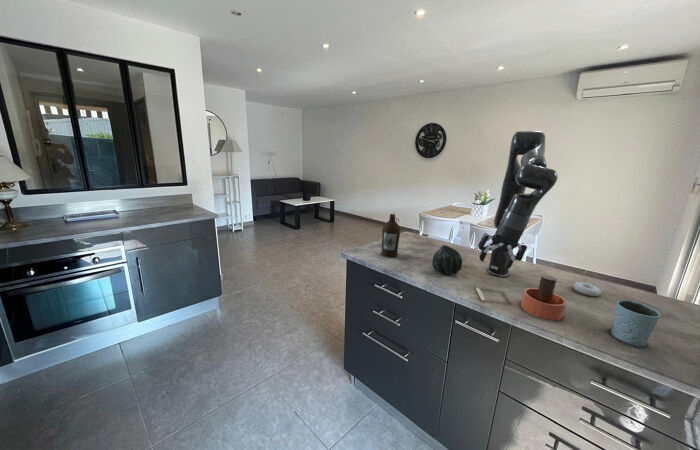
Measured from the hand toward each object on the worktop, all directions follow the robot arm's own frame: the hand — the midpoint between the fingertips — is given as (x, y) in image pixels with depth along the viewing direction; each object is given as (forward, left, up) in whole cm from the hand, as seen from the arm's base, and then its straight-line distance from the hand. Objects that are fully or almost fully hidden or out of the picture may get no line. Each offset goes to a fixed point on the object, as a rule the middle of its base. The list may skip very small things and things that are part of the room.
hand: (493, 263), depth 96 cm
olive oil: (-53, -41, -21) cm, 70 cm away
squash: (-37, -10, -21) cm, 44 cm away
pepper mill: (-9, +23, -20) cm, 32 cm away
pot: (-9, +23, -21) cm, 33 cm away
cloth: (-16, +7, -21) cm, 27 cm away
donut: (-34, +52, -21) cm, 66 cm away
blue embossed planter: (+2, +45, -21) cm, 50 cm away
